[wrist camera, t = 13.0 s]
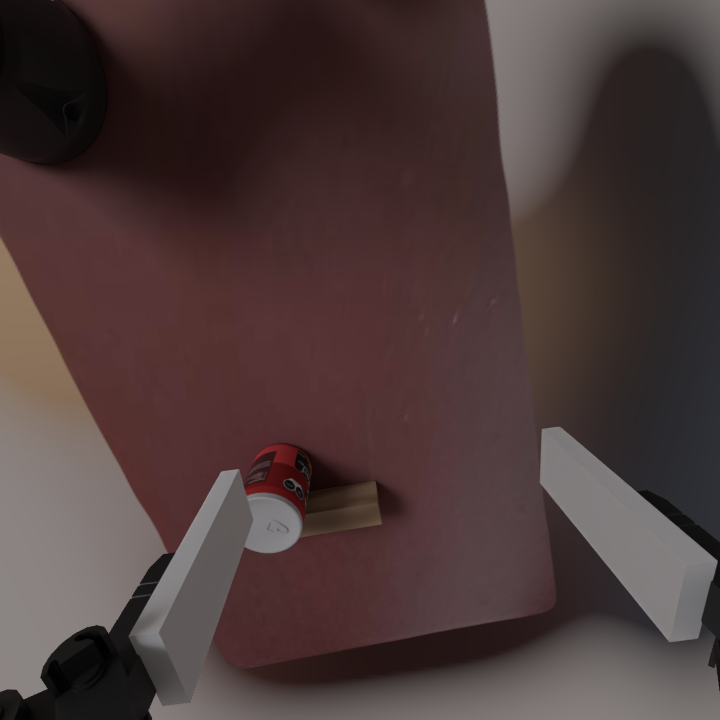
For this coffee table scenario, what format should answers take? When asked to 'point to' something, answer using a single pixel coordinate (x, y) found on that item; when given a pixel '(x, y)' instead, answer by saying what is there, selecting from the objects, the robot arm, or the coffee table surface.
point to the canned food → (277, 497)
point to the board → (342, 509)
